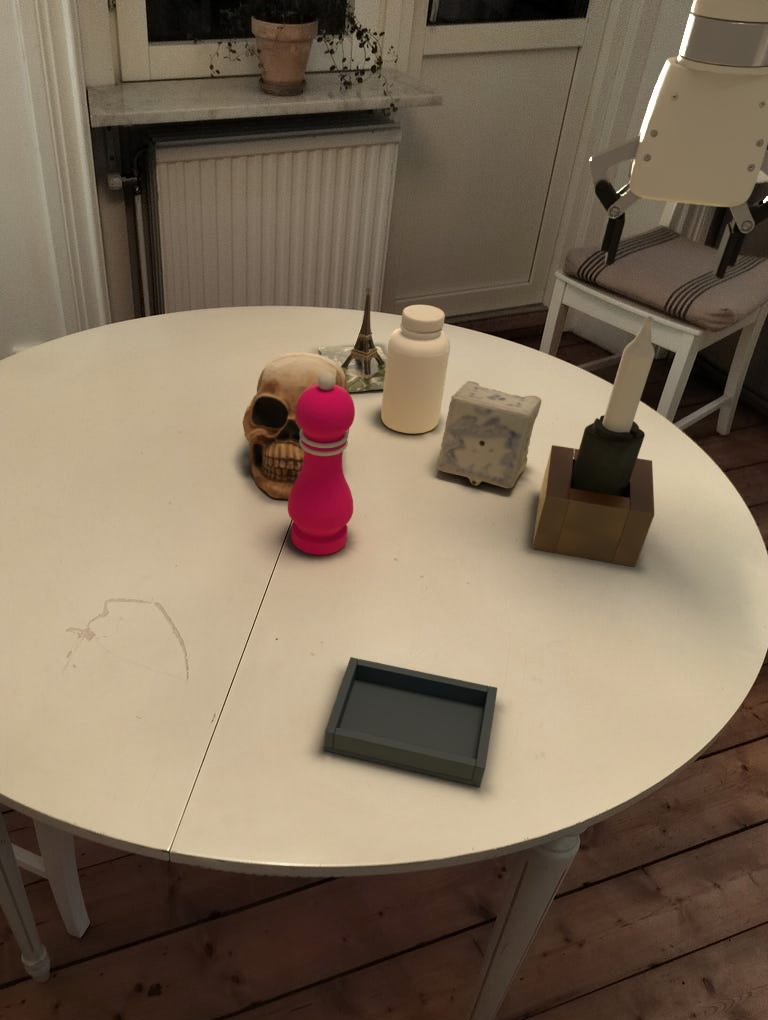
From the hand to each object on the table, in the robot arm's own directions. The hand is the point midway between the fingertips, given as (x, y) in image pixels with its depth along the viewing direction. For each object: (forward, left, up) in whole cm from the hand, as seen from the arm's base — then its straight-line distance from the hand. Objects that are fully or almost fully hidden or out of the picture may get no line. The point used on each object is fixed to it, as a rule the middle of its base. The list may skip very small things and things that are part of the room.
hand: (662, 266), depth 80 cm
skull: (+36, -5, -30) cm, 47 cm away
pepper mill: (+29, +11, -30) cm, 43 cm away
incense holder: (+13, -9, -30) cm, 34 cm away
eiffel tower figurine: (+34, -32, -30) cm, 55 cm away
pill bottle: (+24, -19, -30) cm, 42 cm away
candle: (0, 0, -30) cm, 30 cm away
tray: (+14, +36, -30) cm, 49 cm away
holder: (0, 0, -30) cm, 30 cm away
